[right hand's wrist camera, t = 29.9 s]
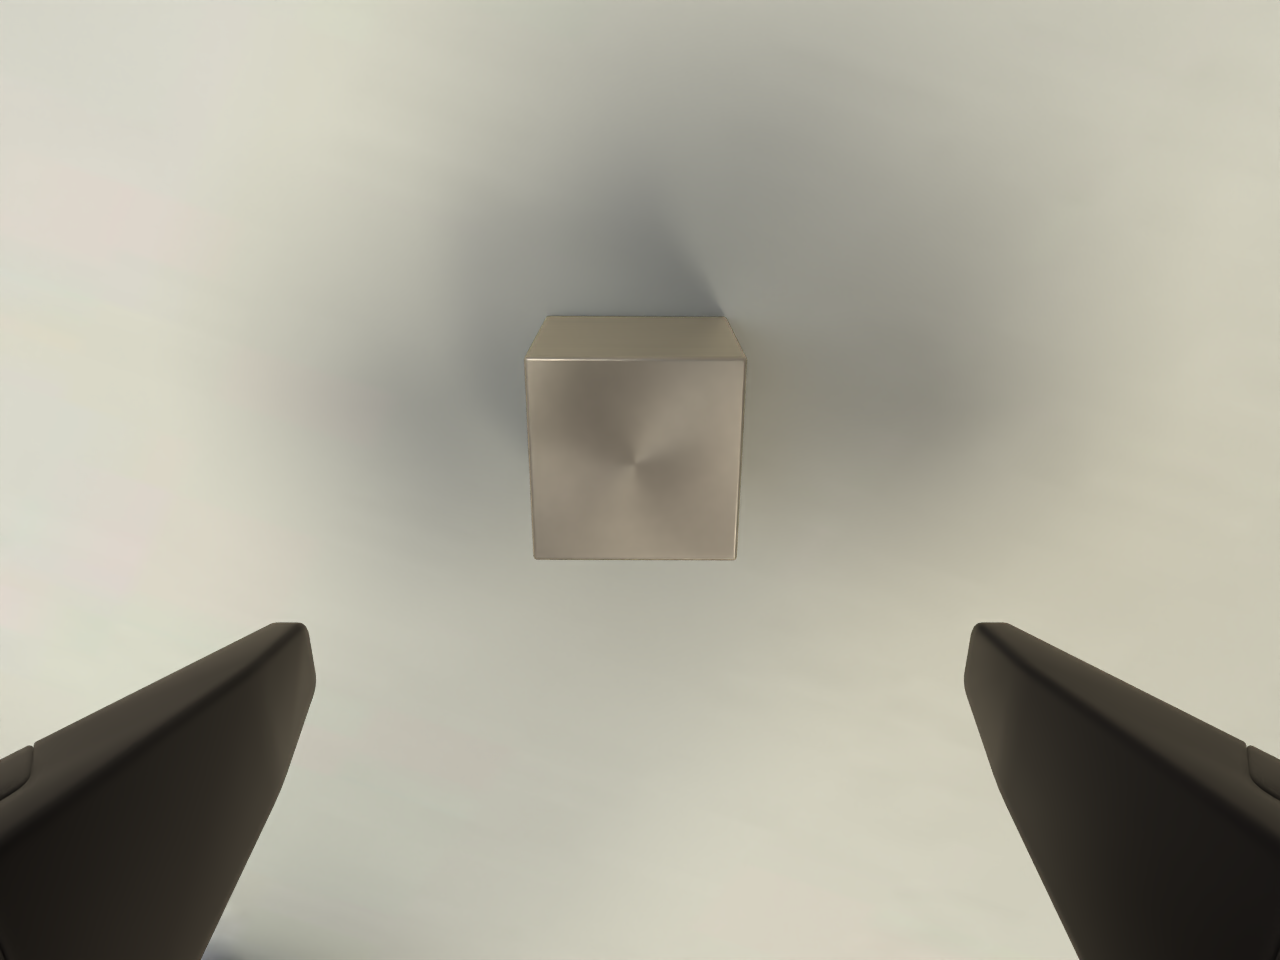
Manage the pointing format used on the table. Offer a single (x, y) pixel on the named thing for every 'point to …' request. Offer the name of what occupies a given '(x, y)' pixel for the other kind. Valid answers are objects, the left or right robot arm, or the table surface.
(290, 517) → the table surface
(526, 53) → the table surface
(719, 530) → the cube
